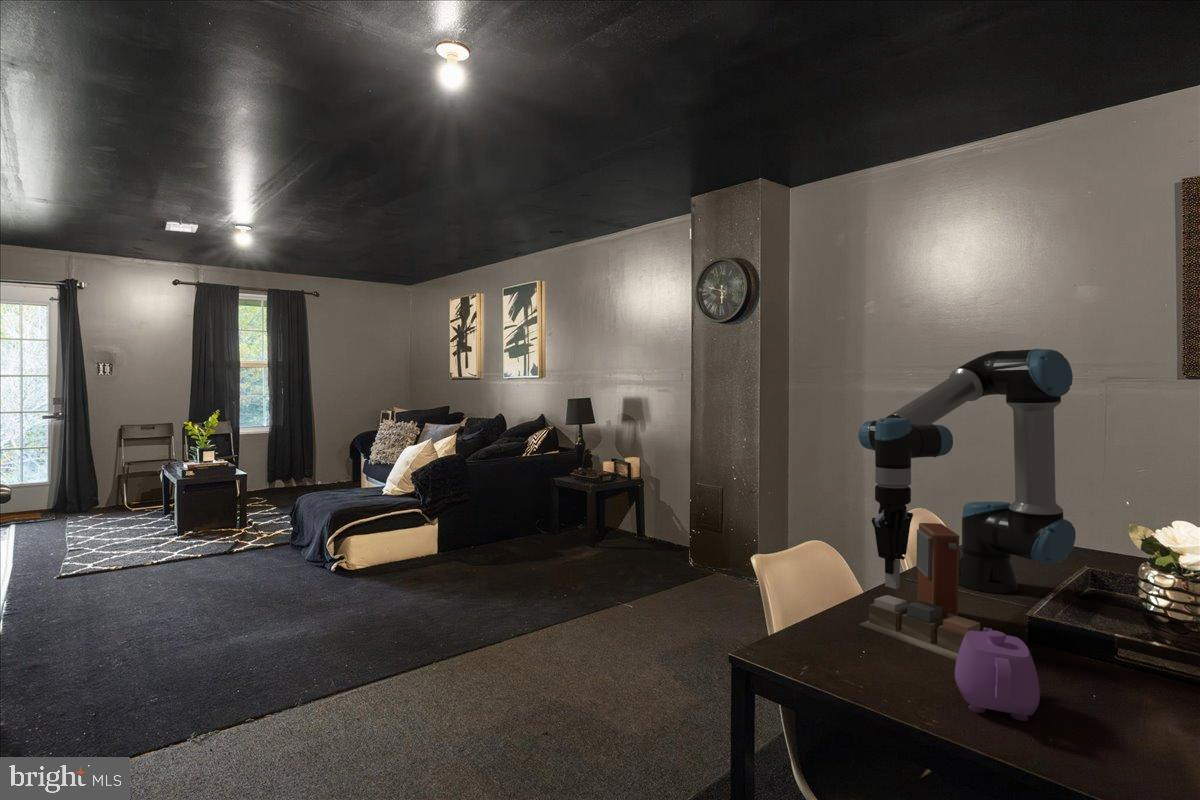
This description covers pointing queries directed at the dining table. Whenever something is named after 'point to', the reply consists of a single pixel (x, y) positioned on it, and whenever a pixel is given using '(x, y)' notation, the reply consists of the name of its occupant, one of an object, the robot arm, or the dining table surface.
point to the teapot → (997, 674)
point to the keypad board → (915, 631)
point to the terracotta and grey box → (938, 567)
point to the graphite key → (924, 611)
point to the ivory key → (890, 603)
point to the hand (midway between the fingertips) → (892, 586)
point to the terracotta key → (960, 625)
